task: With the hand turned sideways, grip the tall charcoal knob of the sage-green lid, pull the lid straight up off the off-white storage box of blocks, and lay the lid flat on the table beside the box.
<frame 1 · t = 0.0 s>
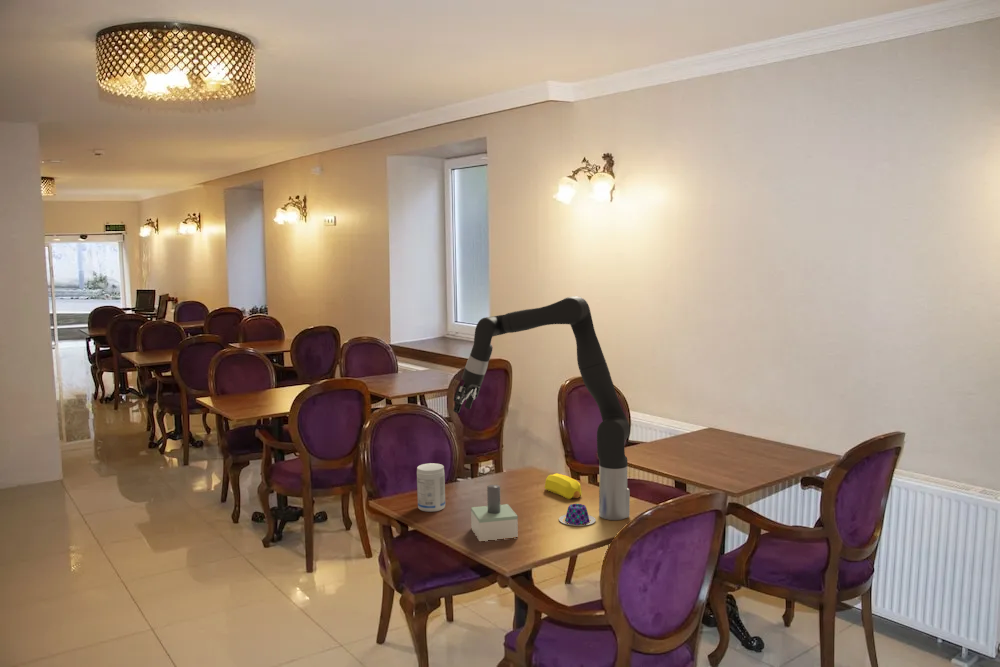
hand: (461, 410, 277), 31 cm above the table, tool tilted 20°, fingers open, 8 cm apart
storage box: (494, 533, 240), on the table
pudding: (577, 522, 251), on the table
supplement tub: (431, 508, 265), on the table
lid: (494, 519, 240), point 4 cm above the table, touching storage box
yellow rounded loaf: (562, 494, 280), on the table
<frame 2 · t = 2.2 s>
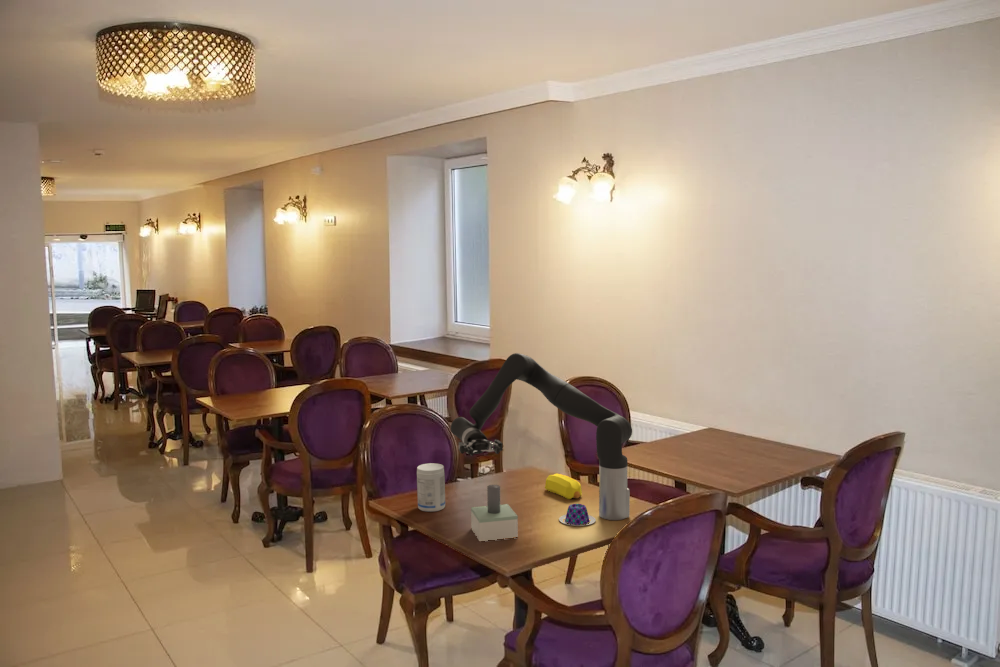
hand: (485, 451, 249), 23 cm above the table, tool horizontal, fingers open, 8 cm apart
nothing on the table moved.
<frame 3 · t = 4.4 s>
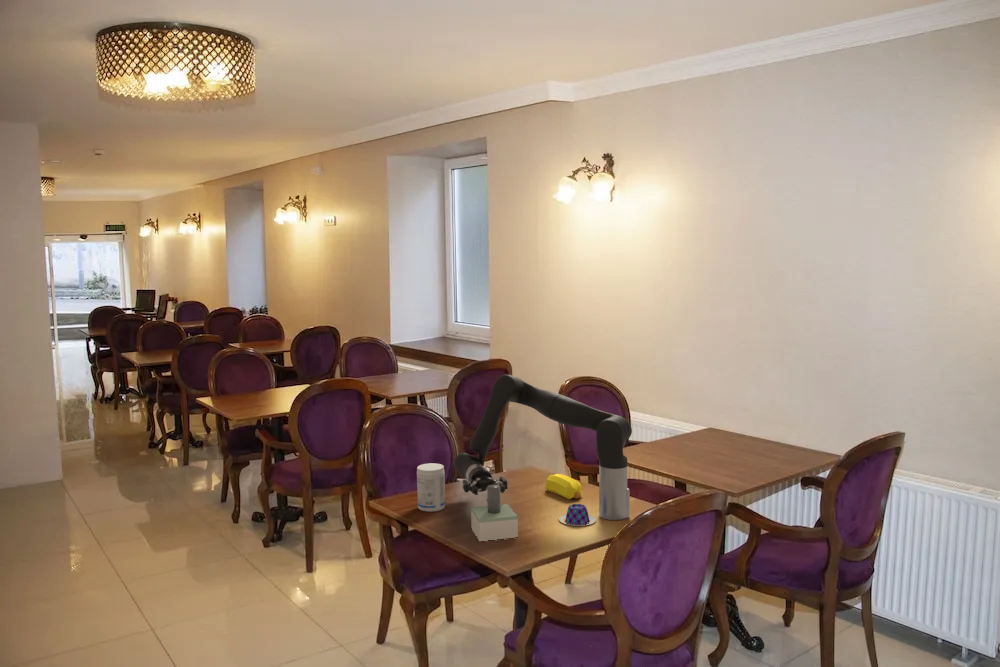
hand: (489, 490, 244), 12 cm above the table, tool horizontal, fingers open, 8 cm apart
nothing on the table moved.
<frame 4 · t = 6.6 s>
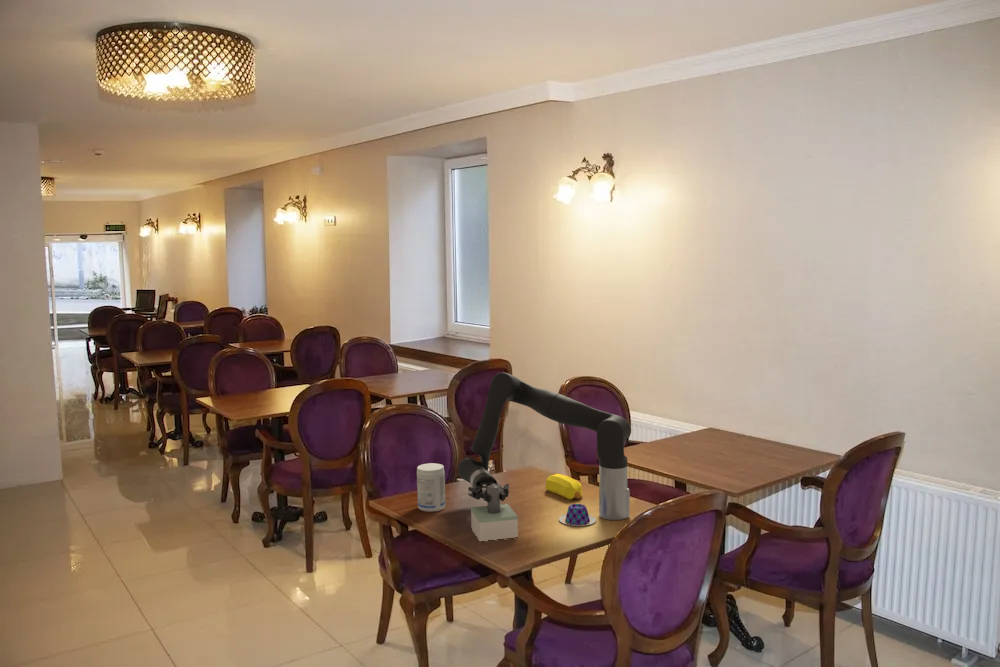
hand: (495, 498, 236), 12 cm above the table, tool horizontal, fingers closed on lid, 4 cm apart
lid: (494, 519, 240), point 4 cm above the table, touching gripper, storage box
everything else where it was.
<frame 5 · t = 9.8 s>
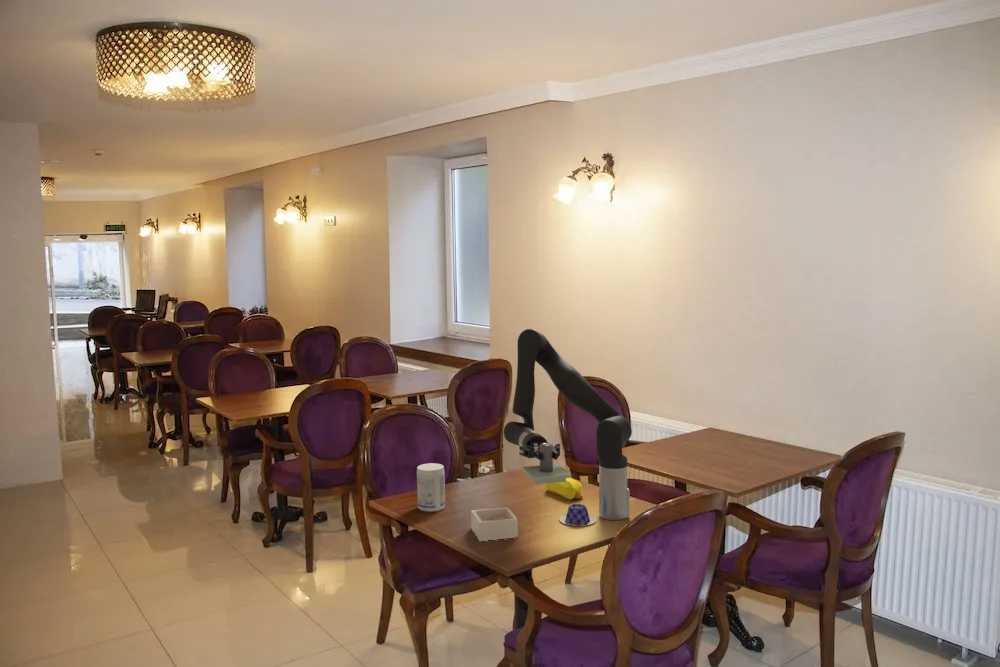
hand: (549, 456, 232), 26 cm above the table, tool horizontal, fingers closed on lid, 4 cm apart
lid: (546, 478, 235), point 18 cm above the table, touching gripper
everything else where it was.
when the fingers open (9 cm above the table, at t = 13.3 s): lid drops 2 cm, on the table.
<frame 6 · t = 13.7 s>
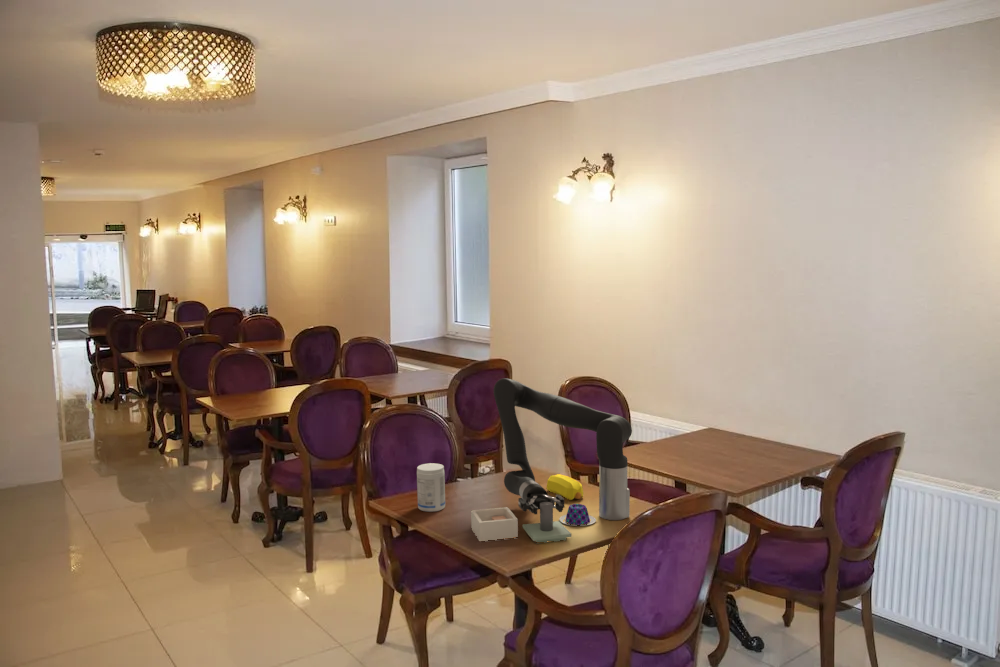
hand: (548, 510, 234), 9 cm above the table, tool horizontal, fingers open, 7 cm apart
lid: (546, 536, 237), on the table
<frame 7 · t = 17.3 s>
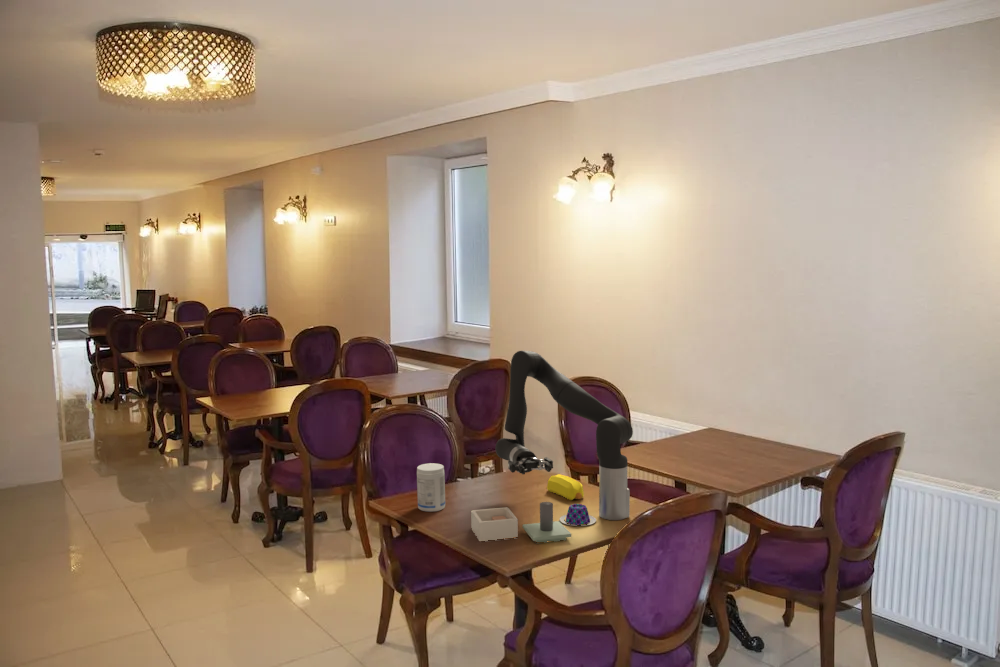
hand: (536, 470, 246), 18 cm above the table, tool horizontal, fingers open, 8 cm apart
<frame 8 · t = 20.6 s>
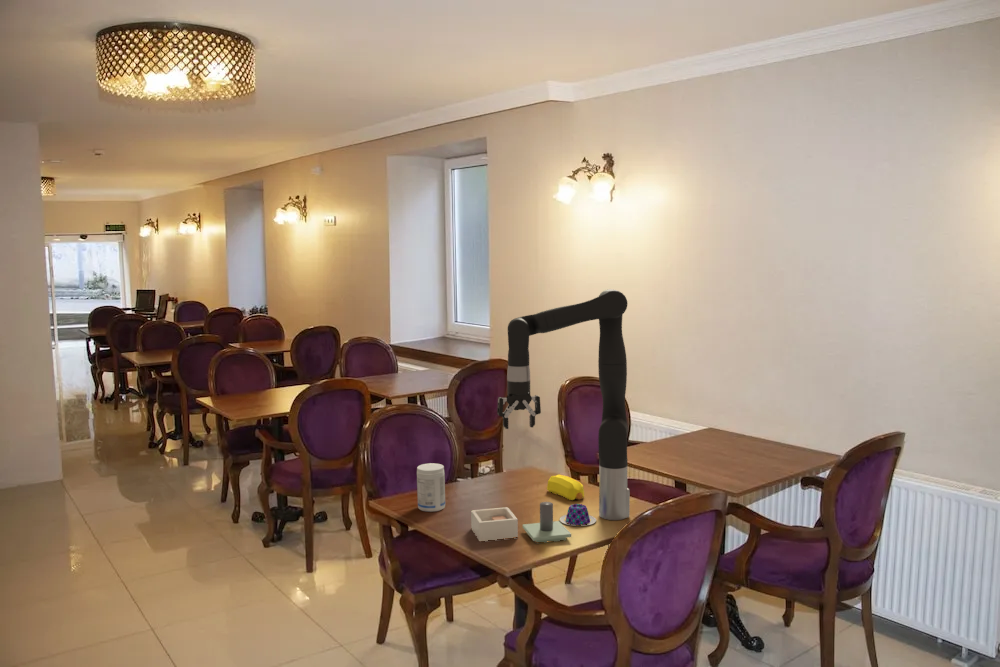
hand: (519, 427, 253), 30 cm above the table, tool pointing down, fingers open, 8 cm apart
at the end: lid inside the target area (0.1 cm from its centre), on the table; lid tilted 0°; the gripper is holding nothing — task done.
